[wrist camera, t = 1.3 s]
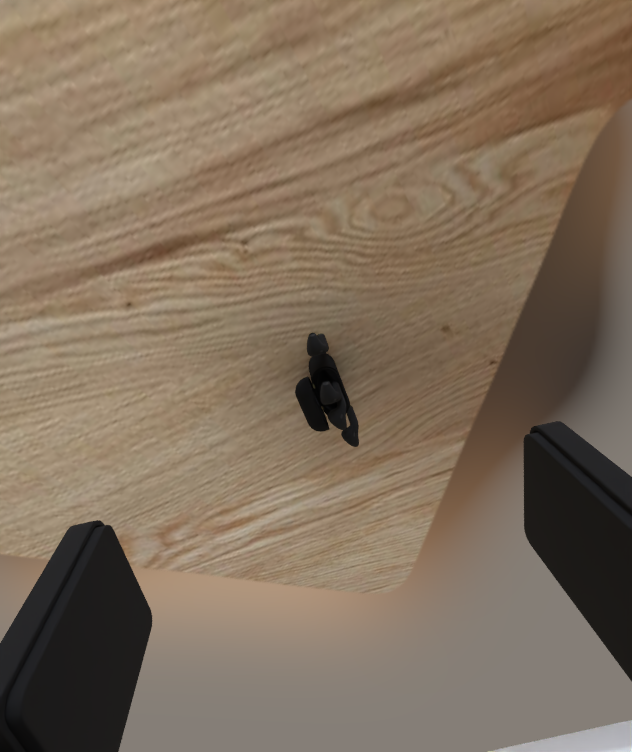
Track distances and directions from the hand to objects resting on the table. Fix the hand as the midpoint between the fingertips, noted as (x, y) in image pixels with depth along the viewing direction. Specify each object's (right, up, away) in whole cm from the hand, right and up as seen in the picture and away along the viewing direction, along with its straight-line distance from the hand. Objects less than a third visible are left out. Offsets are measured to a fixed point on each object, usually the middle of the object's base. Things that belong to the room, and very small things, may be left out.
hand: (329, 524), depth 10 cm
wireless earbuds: (0, +3, +17) cm, 17 cm away
